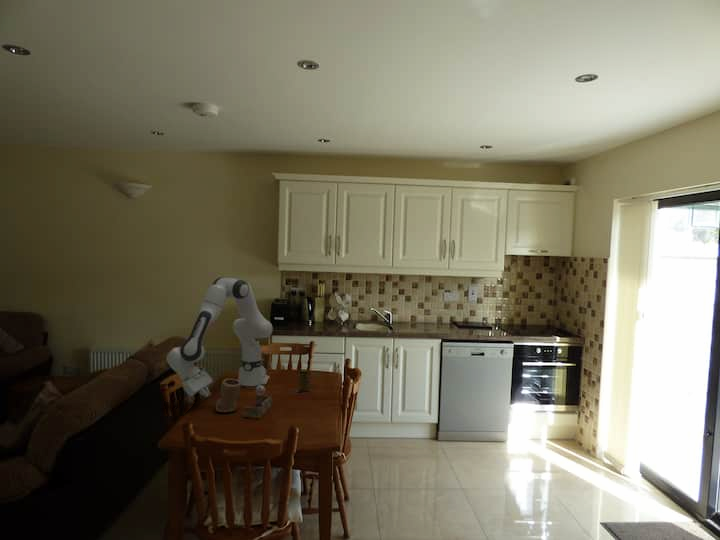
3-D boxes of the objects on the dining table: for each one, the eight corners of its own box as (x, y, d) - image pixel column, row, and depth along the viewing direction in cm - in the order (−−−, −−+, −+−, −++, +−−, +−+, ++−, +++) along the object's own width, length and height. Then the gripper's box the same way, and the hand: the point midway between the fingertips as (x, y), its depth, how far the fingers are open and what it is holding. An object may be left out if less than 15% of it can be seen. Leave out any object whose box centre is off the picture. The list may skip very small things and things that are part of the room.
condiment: (305, 388, 264) (306, 368, 263) (313, 392, 257) (314, 371, 257) (294, 390, 259) (295, 370, 259) (302, 394, 253) (303, 373, 252)
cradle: (257, 404, 234) (258, 375, 234) (274, 405, 233) (275, 376, 232) (243, 417, 215) (244, 386, 215) (262, 418, 214) (262, 387, 214)
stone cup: (239, 413, 220) (240, 383, 220) (214, 414, 218) (214, 384, 217) (240, 403, 235) (241, 375, 235) (217, 404, 233) (217, 375, 232)
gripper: (184, 376, 218) (202, 398, 217) (204, 366, 238) (221, 385, 237) (175, 385, 219) (194, 406, 218) (196, 374, 239) (213, 393, 238)
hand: (208, 395), depth 228 cm, fingers closed
